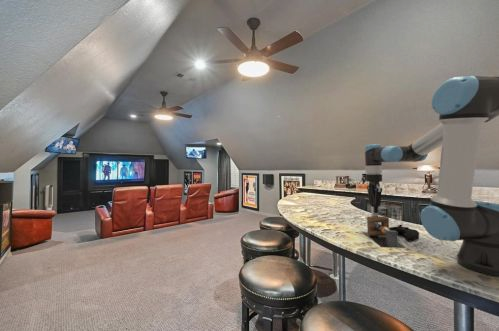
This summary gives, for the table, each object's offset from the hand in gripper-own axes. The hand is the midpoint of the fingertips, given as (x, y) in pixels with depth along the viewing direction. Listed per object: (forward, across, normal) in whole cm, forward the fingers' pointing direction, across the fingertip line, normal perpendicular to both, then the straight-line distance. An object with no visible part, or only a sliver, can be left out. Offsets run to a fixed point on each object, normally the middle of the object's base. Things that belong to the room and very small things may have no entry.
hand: (374, 218), depth 115 cm
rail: (+8, -7, 0) cm, 11 cm away
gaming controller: (+9, -2, -13) cm, 16 cm away
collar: (+8, -3, 0) cm, 9 cm away
